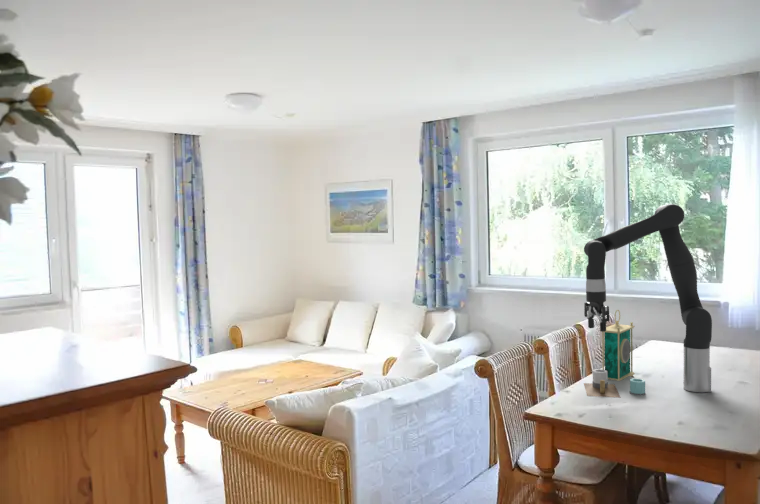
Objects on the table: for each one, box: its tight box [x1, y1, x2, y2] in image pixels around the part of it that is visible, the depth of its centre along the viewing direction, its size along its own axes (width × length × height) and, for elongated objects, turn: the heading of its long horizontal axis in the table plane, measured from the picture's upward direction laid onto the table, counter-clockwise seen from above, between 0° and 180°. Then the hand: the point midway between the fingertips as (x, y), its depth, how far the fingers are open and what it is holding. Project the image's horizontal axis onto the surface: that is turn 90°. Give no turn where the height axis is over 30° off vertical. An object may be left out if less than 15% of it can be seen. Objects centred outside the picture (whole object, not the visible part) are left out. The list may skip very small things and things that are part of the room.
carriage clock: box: [601, 309, 636, 382], centre depth 256 cm, size 17×9×30 cm, turn 137°
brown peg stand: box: [583, 380, 621, 399], centre depth 235 cm, size 12×18×6 cm, turn 165°
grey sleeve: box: [592, 368, 609, 389], centre depth 240 cm, size 5×5×6 cm
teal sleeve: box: [629, 377, 646, 396], centre depth 230 cm, size 5×5×6 cm
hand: (597, 329), depth 241 cm, fingers open, 8 cm apart
